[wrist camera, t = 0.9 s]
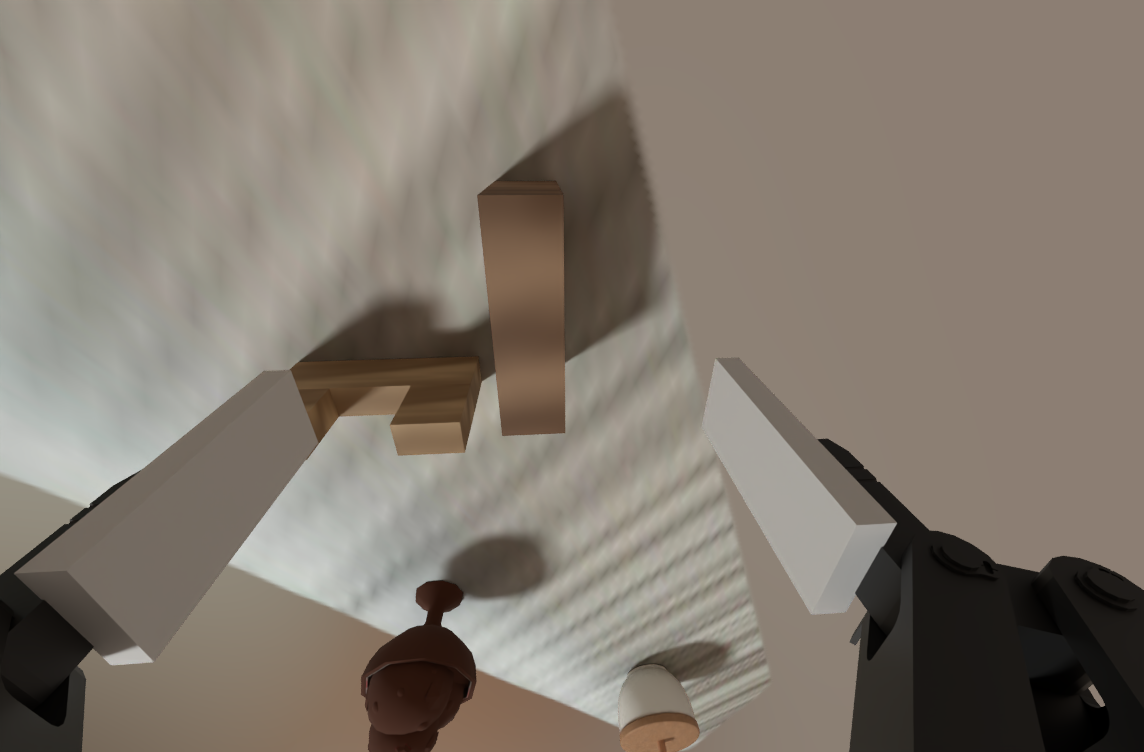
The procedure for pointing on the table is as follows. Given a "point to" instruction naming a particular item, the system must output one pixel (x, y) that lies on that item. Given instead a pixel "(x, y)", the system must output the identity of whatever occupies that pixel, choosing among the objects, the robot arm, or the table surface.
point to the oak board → (396, 398)
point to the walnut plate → (526, 301)
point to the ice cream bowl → (418, 678)
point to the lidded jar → (655, 712)
